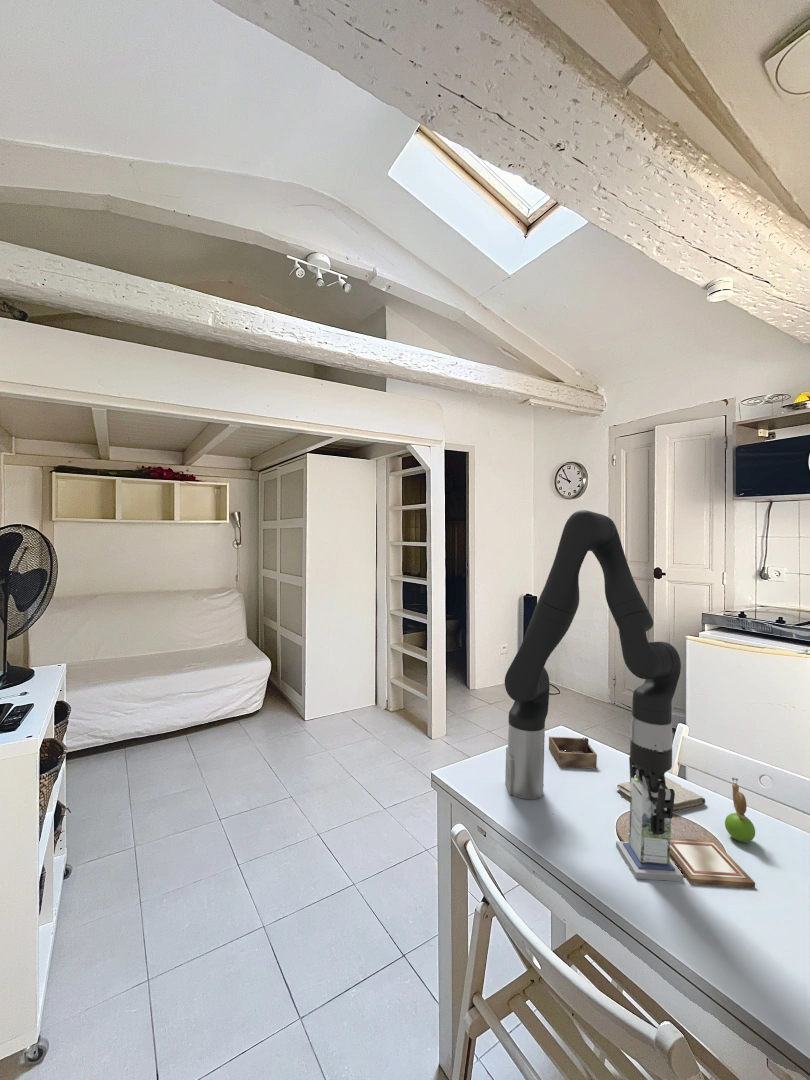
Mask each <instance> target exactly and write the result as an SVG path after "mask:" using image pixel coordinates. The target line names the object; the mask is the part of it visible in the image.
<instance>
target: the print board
mask: <svg viewBox="0 0 810 1080" xmlns="http://www.w3.org/2000/svg"><path fill="white" fill-rule="evenodd" d="M670 858H671V860H673V861H674V862H675V863H676V864H677V866H678V867H679V868H680V869H681V871H682V872H683V878H685V879H686V881H687V882H688V883H689V884H690V885H703V886H704V885H705V886H719V887H721V886H722V887H731V888H733V887H734V888H735V887H736V888H747V889H748V888H750V889H756V882H755V881H754V880H753V879H752V878H751V877H750V875H748V873H746V872H745V870H743V868H742V867H741V866H740V865H739V864H738V863H737V862H736V861H735V860H734V859H733V858H732V857H731V856H730V855H729V853H727V852H726V851H725V850H724V849H723V847H722V846H721V845H720V844H719V843H718V842H717V841H716V840H712V839H711V840H710V839H708V840H707V839H695V838H694V839H693V838H690V839H689V838H675V837H671V838H670ZM675 863H674V864H675ZM678 867H677V868H678ZM681 871H680V872H681Z"/></svg>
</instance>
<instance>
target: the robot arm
mask: <svg viewBox="0 0 810 1080" xmlns="http://www.w3.org/2000/svg"><path fill="white" fill-rule="evenodd" d="M618 531H619V530H618V528H617V525H616V524H615V522H614V520H612V518H610V517H609V516H607V515H605V514H601V513H598V512H595V511H594V512H593V511H590V510H586V509H581V510H576V511H575V512H574V513H572V514H571V515H570V516H569V517H568V519H567V521H566V522H565V524H564V527H563V529H562V532H561V536H560V539H559V543H558V546H557V550H556V553H555V557H554V559H553V563H552V565H551V568H550V571H549V574H548V576H547V579H546V582H545V585H544V587H543V590H542V591H541V593H540V596H539V598H538V600H537V603H536V605H535V608H534V611H533V613H532V617H531V619H530V621H529V624H528V626H527V628H526V631H525V634H524V637H523V640H522V642H521V644H520V647H519V649H518V651H517V653H516V654H515V656H514V657H513V660H512V661H511V664H510V665H509V667H508V669H507V671H506V674H505V677H504V688H505V691H506V693H507V695H508V696H509V698H511V699H512V700H513V701H514V702H513V704H512V706H511V708H510V710H509V712H508V728H507V730H508V731H507V732H508V735H507V736H508V737H507V747H506V748H505V782H504V783H505V786H506V789H507V792H508V795H509V796H514V797H517V798H520V799H524V800H536V799H540V798H541V797H542V796H543V794H544V787H545V786H544V781H545V780H544V774H545V773H544V771H545V770H544V768H545V737H546V736H545V735H546V734H545V731H546V719H547V716H548V713H549V703H550V677H549V673H548V671H547V669H546V668H545V666H546V663H547V661H548V660H549V657H550V656H551V654H552V653H553V652H554V650H555V649H556V648H557V646H558V645H559V644H560V642H561V641H562V640H563V638H564V637H565V635H566V634H567V632H568V631H569V629H570V628H571V625H572V623H573V620H574V618H575V615H576V614H577V611H578V608H579V605H580V586H579V585H580V583H579V581H580V579H579V577H580V571H581V568H582V565H583V563H584V561H585V558H586V555H587V553H588V552H592V554H593V555H594V556H595V558H596V559H597V561H598V563H599V566H600V568H601V570H602V574H603V580H604V581H603V582H604V594H605V595H604V596H605V600H606V603H607V607H608V609H609V610H610V613H611V615H612V618H613V619H614V622H615V624H616V626H617V628H618V633H619V634H618V635H619V641H620V646H621V652H622V657H623V661H624V663H625V665H626V667H627V669H628V670H629V672H630V673H631V674H633V675H634V676H635V677H636V678H639V679H640V680H641V679H642V680H644V682H643V684H642V685H640V686H638V687H636V688H635V689H634V690H633V692H632V704H631V705H632V706H631V707H632V712H631V714H632V716H631V721H630V737H629V738H630V745H629V746H630V748H629V758H628V760H629V761H628V762H629V782H630V784H631V778H637V779H638V780H641V781H642V782H643V784H644V785H645V789H646V790H647V792H648V800H649V801H650V802H651V811H652V813H651V831H652V832H653V833H654V834H659V835H663V834H664V820H665V818H669V819H671V820H672V819H673V814H674V813H673V806H674V797H675V792H674V790H673V789H668V788H667V786H666V781H665V777H666V776H665V774H666V773H667V772H669V771H670V770H671V769H672V768H673V726H672V716H673V715H672V713H673V712H672V701H673V698H674V696H675V692H676V690H677V686H678V683H679V679H680V676H681V671H682V670H681V669H682V660H681V658H680V654H679V653H678V650H677V649H676V648H675V647H674V646H673V645H672V644H671V643H669V642H666V641H650V642H649V641H648V636H647V632H648V631H650V630H651V629H652V628H653V626H654V619H653V617H652V615H651V612H650V610H649V609H648V607H647V604H646V602H645V601H644V599H643V596H642V595H641V593H640V591H639V589H638V586H637V584H636V582H635V580H634V578H633V575H632V572H631V570H630V566H629V564H628V560H627V558H626V555H625V551H624V549H623V544H622V541H621V537H620V535H619V532H618ZM651 792H653V793H657V795H658V798H654V797H652V795H651ZM655 802H657V809H656V805H655ZM666 808H667V810H666Z"/></svg>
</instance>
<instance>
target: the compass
mask: <svg viewBox="0 0 810 1080" xmlns="http://www.w3.org/2000/svg"><path fill="white" fill-rule="evenodd" d="M584 739H585V740H584V744H583V749H582V752H581V753H587V750H588V744H589V739H588V738H587V737H584ZM563 752H574V753H577V751H563Z"/></svg>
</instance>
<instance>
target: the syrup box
mask: <svg viewBox="0 0 810 1080" xmlns="http://www.w3.org/2000/svg"><path fill="white" fill-rule="evenodd" d="M651 795H652V797H654V798H658V795H657V793H653V792H651ZM629 804H630V805H629V827H628V828H629V830H628V831H629V833H628V842H629V844H630V846H631V848H632V849H633V851H634V853H635V854H636V856H637V857H638V859H639V861H640V862H641V863H652V864H664V865H669V864H670V838H672V836H671V835H672V834H671V833H672V819H669V818H665V820H664V834H663V835H659V834H654V833H653V832H652V831H651V813H652V811H651V802H650V801H649V800H648V792H647V790H646V789H645V785H644V784H643V782H642V781H641V780H638V779H637V778H631V797H630V802H629ZM655 805H656V809H657V802H655ZM666 810H667V808H666Z"/></svg>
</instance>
